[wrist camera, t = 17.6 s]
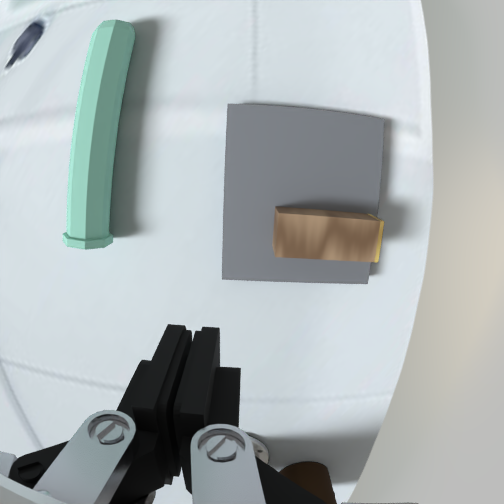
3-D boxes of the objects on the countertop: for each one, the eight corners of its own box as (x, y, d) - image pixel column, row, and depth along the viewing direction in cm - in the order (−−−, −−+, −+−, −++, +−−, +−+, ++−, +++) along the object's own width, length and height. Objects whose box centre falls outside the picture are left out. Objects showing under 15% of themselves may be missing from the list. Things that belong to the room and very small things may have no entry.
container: (90, 11, 22) (58, 248, 28) (145, 14, 24) (112, 250, 31) (93, 30, 27) (66, 234, 34) (140, 32, 30) (113, 235, 36)
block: (272, 245, 33) (364, 250, 33) (275, 257, 29) (378, 262, 29) (275, 206, 32) (369, 214, 32) (278, 213, 28) (384, 221, 28)
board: (362, 277, 36) (367, 284, 34) (223, 272, 36) (221, 279, 34) (377, 120, 31) (384, 119, 29) (229, 106, 31) (227, 103, 29)
